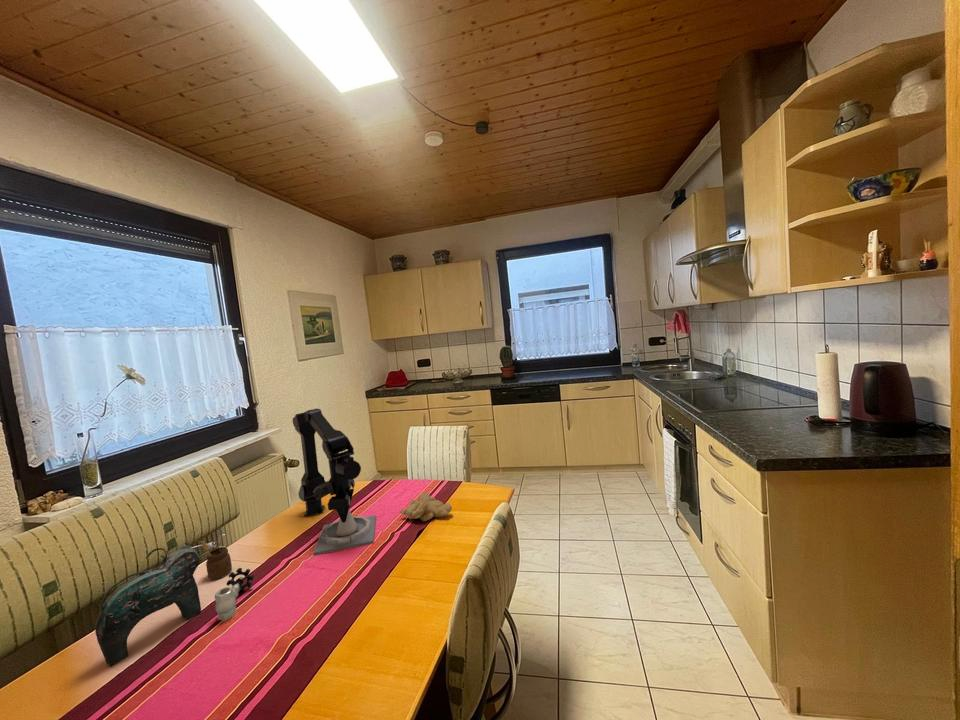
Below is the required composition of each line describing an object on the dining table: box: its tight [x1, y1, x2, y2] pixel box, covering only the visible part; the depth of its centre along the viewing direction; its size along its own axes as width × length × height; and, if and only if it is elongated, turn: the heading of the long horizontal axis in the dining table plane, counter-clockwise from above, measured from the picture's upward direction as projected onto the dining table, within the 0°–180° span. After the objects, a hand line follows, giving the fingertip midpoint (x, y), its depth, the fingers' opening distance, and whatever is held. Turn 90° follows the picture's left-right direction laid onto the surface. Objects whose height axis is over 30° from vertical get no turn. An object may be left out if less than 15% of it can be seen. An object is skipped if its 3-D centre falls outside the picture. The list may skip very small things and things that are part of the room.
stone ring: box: [322, 515, 371, 546], centre depth 129 cm, size 15×15×2 cm
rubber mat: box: [312, 515, 377, 556], centre depth 129 cm, size 18×18×1 cm
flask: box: [336, 508, 358, 536], centre depth 129 cm, size 7×7×10 cm
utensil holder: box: [200, 534, 233, 581], centre depth 113 cm, size 6×6×12 cm
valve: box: [214, 567, 255, 622], centre depth 99 cm, size 7×7×12 cm
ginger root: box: [399, 491, 453, 522], centre depth 137 cm, size 16×16×8 cm
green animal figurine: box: [94, 541, 202, 667], centre depth 90 cm, size 20×6×20 cm, turn 150°
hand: (345, 517), depth 129 cm, fingers open, 6 cm apart
